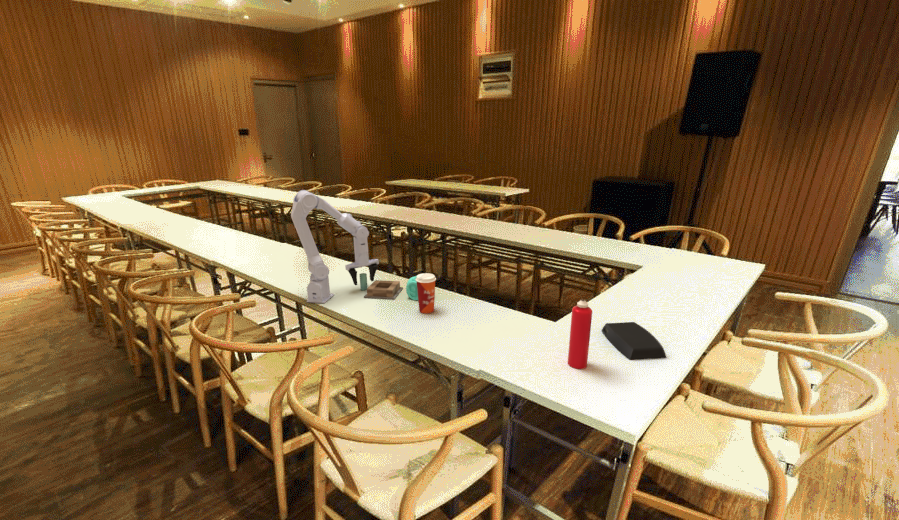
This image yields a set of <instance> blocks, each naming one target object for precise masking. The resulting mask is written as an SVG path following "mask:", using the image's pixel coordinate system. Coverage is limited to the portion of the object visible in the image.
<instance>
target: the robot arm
mask: <svg viewBox="0 0 899 520" xmlns="http://www.w3.org/2000/svg"><path fill="white" fill-rule="evenodd" d="M292 203H293V204H292V207H291V212H290V218H291V220H292V222H293V223H292V224H293V226H294V228H295V229H296V233H297V235H298V238H299V241H300V243H301V245H302V248H303V250H304V253H305V255H306V260H307V262H308V263H307V264H308V265H307V268H308V271H309V273H311V274H310V276H309V280H310V281H309V283H308V284H307V287H306V292H307V293H306V294H307V300H306V303H313V304H314V303H316V304H325V303H326V302H328V301H329V300H330V299H331V298H332V297H333V296H335V293H331V290H330V278H329V275H330V269H329V266H327V265H326V264H325V263H324V260H323V258H322V257H321V254H320V251H319V249H318V247H317V245H316V243H315V240H314V237H313V235H312V232H311V229H310V227H309V224H308V221H307V216H308V215H309V213H311V211H313V210H314V209H316V210H323V212H326V213H327V214H328V215H329V216H331V217H332V218H334V219H335V220H336V221H337V225H338V226H340V228H343V229H344V230H345V231H347V233H349V234H351V235H352V236H353V249H354V261H353V262H351V263H348V264H345V265H344V266H345V270H346V271H347V272H348V273H349V275H350V277H351V279H352V282H353V285H355V286H358V271H357V270H356V269H359V268H363V267H368V271H369V281H371V282H374V281H375V277H376V272H377V270H378V268H379V266H378V265H379V264H380V261H379V259H378V258H372V259H370V257H369V245H368V243H369V242H368V237H369V234H370V231H369V230H368V227H367V226H364V225H363V224H362V222H361V221H360V220H356V219H355V218H354V217H353V215H352V214H351V213H347V212H344V213H341V211H339V210H338V209H337V208H335V206H333V205H332V204H330V203H329V202H328V201H327V200H325V199H323V198H321V197H319V196H317V195H316V194H315V193H313V192H310V191H309V190H306V189H301V190H299V191H297V193H296V194H295V195H294V197H293V202H292Z"/></svg>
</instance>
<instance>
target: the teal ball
mask: <svg viewBox="0 0 899 520" xmlns="http://www.w3.org/2000/svg"><path fill="white" fill-rule="evenodd" d="M416 278H417V275H415V276H412V277H410V278H409V279H408V280H407V283H406V287H405V291H406V295H407V297H409V298H410V299H411V300H413V301H416V300H417V302H418V292H417V281H416Z"/></svg>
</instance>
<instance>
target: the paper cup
mask: <svg viewBox="0 0 899 520" xmlns="http://www.w3.org/2000/svg"><path fill="white" fill-rule="evenodd" d="M416 276H417V278H416V281H417V292H418V301H417V302H418V310H419V313H421V314H432V313H434V311H435V296H436V280H437V278H436V276H435V274H433V273H429V272H428V273H427V272H424V273H419V274H417V275H416Z"/></svg>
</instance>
